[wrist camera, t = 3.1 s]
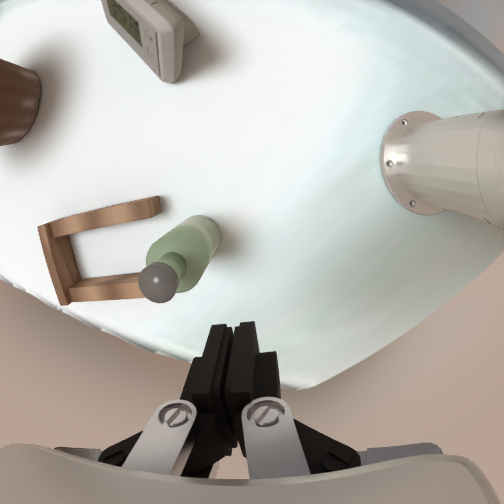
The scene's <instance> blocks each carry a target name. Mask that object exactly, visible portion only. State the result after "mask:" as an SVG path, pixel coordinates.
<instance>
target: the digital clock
mask: <svg viewBox="0 0 504 504" xmlns="http://www.w3.org/2000/svg"><path fill="white" fill-rule="evenodd" d="M101 1H102V5H103V9H104V12H105V16H106V19H107V21H108V23H109V24H110V25H111V26H112V27H113V28H114V30H115V31H116V32H117V33H118V34H119V35H120V36H121V37H122V38H123V39H124V40H125V41H126V42H127V43H128V44H129V45H130V47H131V48H132V49H133V50H134V51H135V52H136V53H137V54H138V55H139V56H140V57H141V58H142V60H143V61H144V62H145V63H146V64H147V65H148V66H149V67H150V68H151V69H152V71H153V72H154V73H155V74H156V75H157V76H158V77H159V78H160V79H161V80H162V81H163V82H171V83H174V82H175V81H176V80H177V79H178V78H179V76H180V74H181V71H182V57H183V47H185V46H186V45H187V44H189V43H190V42H191V41H193V40H194V39H195V38H197V37H198V36H199V35H200V34H199V32H198V30H197V28H196V27H195V25H194V23H193V22H192V21H191V20H190V19H189V18H188V17H187V16H186V15H185V14H184V13H182V12H181V11H180V10H179V9H178V8H177V7H175V6H174V5H173V4H172V3H171V2H170V1H168V0H101Z"/></svg>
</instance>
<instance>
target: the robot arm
mask: <svg viewBox="0 0 504 504" xmlns="http://www.w3.org/2000/svg"><path fill="white" fill-rule="evenodd" d="M402 122H403V124H402ZM386 162H388V165H386ZM380 163H381V170H382V175H383V178H384V181H385V183H386V186H387V187H388V189H389V191H390V193H391V194H392V196H393V197H394V198H395V199H396V200H397V201H398V202H399V203H400V204H401V205H402V206H404V207H405V208H407V209H409V210H411V211H413V212H416V213H419V214H425V215H430V214H436V213H439V212H442V211H443V210H445V209H449V210H453V211H456V212H459V213H462V214H465V215H468V216H470V217H473V218H476V219H479V220H482V221H485V222H487V223H490V224H493V225H495V226H498V227H501V228H503V229H504V109H503V110H495V111H488V112H481V113H474V114H468V115H462V116H456V117H451V118H445V119H441V118H440V117H438V116H437V115H434V114H432V113H429V112H424V111H414V112H410V113H407V114H404V115H402V116H400V117H399V118H397V119H396V120H395V121H394V122H393V123H392V124H391V125H390V126H389V128H388V129H387V131H386V133H385V135H384V138H383V141H382V145H381V152H380ZM410 202H411V203H410ZM409 203H410V204H409ZM238 442H239V444H240V447H241V451H242V454H243V456H244V457H246V459H247V463H248V470H249V477H250V479H215V476H216V474H217V470H218V468H219V460H220V459H222V458H223V457H225V456H231V453H232V448H236V447H237V444H238ZM0 504H501V502H500V500H499V498H498V496H497V494H496V492H495V490H494V489H493V487H492V485H491V483H490V481H489V480H488V479H487V477H486V476H485V474H484V473H483V472H482V470H481V469H480V468H479V467H478V466H477V465H476V464H475V463H474V462H473V461H471V460H469V459H468V458H465V457H461V456H457V455H448V454H443V452H442V450H441V449H440V448H439V447H438V446H437V445H435V444H432V443H418V444H410V445H402V446H392V447H379V448H367V451H355V450H354V449H352V448H350V447H349V446H347V445H344V444H342V443H340V442H338V441H336V440H334V439H332V438H330V437H328V436H326V435H324V434H322V433H320V432H318V431H316V430H314V429H312V428H310V427H308V426H306V425H304V424H302V423H301V422H299V421H297V420H295V419H293V417H292V414H291V411H290V408H289V406H288V405H287V403H285V402H284V401H283V400H281V394H280V379H279V369H278V361H277V353H276V351H274V352H264V353H260V352H259V346H258V340H257V334H256V327H255V322H254V321H252V322H241V323H240V326H237V327H235V330H234V335H233V330H232V327H227V325H226V324H219V325H212V326H211V329H210V332H209V336H208V339H207V342H206V345H205V349H204V352H203V355H202V357H195V358H194V359H193V361H192V364H191V367H190V370H189V373H188V376H187V379H186V382H185V385H184V388H183V391H182V394H181V397H180V400H172V401H169V402H166V403H164V404H163V405H161V406H160V407H159V408H158V409H157V410H156V411H155V413H154V414H153V416H152V418H151V419H150V421H149V423H148V424H147V426H146V428H145V429H144V430H143V431H141V432H139V433H137V434H135V435H133V436H131V437H129V438H127V439H125V440H123V441H121V442H119V443H117V444H115V445H113V446H110V447H108V448H107V449H105V450H104V451H103V452H102V451H101V450H100V449H84V448H68V447H57V448H54V449H52V448H49V447H44V446H40V445H33V444H10V445H6V446H4V447H2V448H1V449H0Z"/></svg>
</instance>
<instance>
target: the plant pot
mask: <svg viewBox="0 0 504 504" xmlns="http://www.w3.org/2000/svg"><path fill="white" fill-rule="evenodd" d="M40 96H41V84H40V80H39V78H38V76H37V74H36V73H35V72H33V71H31V70H29V69H26V68H24V67H21V66H18V65H16V64H13V63H10V62H8V61H5V60H2V59H0V146H3V145H9V144H13V143H16V142H18V141H20V140H21V139H22V138H23V137H24V136H25V135H26V133H27V132H28V131H29V129H30V127H31V126H32V124H33V122H34V120H35V117H36V115H37V112H38V100H39V98H40Z"/></svg>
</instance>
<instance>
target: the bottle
mask: <svg viewBox="0 0 504 504" xmlns="http://www.w3.org/2000/svg"><path fill="white" fill-rule="evenodd" d="M219 243H220V231H219V228H218V227H217V225H216V224H215V223H214V221H212V220H211V219H210V218H208V217H205V216H201V215H196V216H192V217H189V218H188V219H186V220H185V221H183V222H182V223H181V224H179V225H178V226H176V227H175V228H174V229H172V230H171V231H169V232H168V233H167V234H165V235H164V236H163V237H161V238H160V239H158V240H157V241H156V242H155V243H154V244H153V245H152V246H151V247H150V249H149V251H148V253H147V257H146V266H147V267H145V268H144V269H143V270H142V272H141V273H140V275H139V279H138V283H139V288H140V290H141V292H142V294H143V295H144V296H145V297H146V298H147V299H149V300H150V301H152V302H155V303H165V302H168V301H169V300H171V299H172V298H173V296H174V295H175V293H182V292H186V291H188V290H190V289H192V288H193V287H194V286H195V285H196V284H197V283H198V281H199V280H200V278H201V276H202V274H203V273H204V271H205V269H206V267H207V266H208V264H209V262H210V260H211V259H212V257H213V255H214V253H215V251H216V250H217V248H218V246H219Z"/></svg>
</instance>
